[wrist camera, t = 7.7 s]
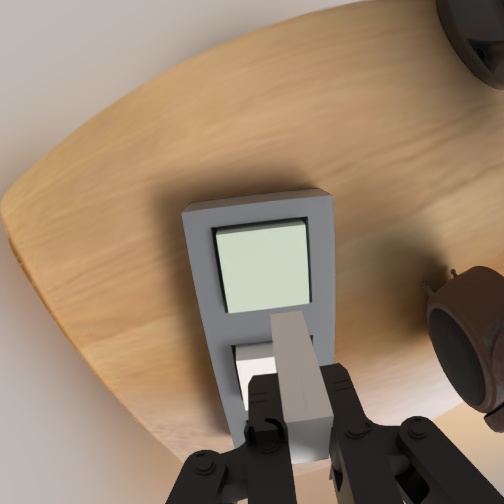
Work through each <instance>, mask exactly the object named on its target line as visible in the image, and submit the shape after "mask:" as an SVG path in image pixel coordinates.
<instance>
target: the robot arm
mask: <svg viewBox="0 0 504 504" xmlns="http://www.w3.org/2000/svg"><path fill="white" fill-rule="evenodd" d="M436 2H437V9H438V13H439V17H440V20H441V23H442V25H443V28H444V30H445V32H446V34H447V36H448V38H449V40H450V42H451V44H452V45H453V47H454V49H455V50H456V52H457V53H458V55H459V56H460V57H461V59H462V60H463V61H464V63H465V64H466V65H467V66H468V68H469V69H470V70H471V71H472V72H473V73H474V74H475V75H476V76H477V77H478V78H480V79H481V80H482V81H483V82H485V83H486V84H488V85H489V86H491V87H494V88H496V89H500V90H504V0H436ZM270 318H271V328H272V338H273V349H274V359H275V367H276V373H271V374H262V375H253V376H252V378H251V380H250V381H249V383H248V423H247V424H246V426H245V428H244V432H243V433H244V437H245V442H244V443H243V444H242V445H241V446H239V447H238V448H236V449H234V450H231V451H228V452H225V453H222V454H219V453H218V452H215V451H212V450H201V451H197V452H195V453H193V454H191V455H190V456H189V457H188V458H187V460H186V461H185V463H184V465H183V467H182V469H181V472H180V474H179V476H178V478H177V480H176V482H175V484H174V487H173V489H172V491H171V493H170V495H169V497H168V499H167V501H166V503H165V504H237V502H238V501H240V500H243V499H246V498H248V504H297V501H296V493H295V485H294V477H293V470H292V464H298V463H305V462H311V461H318V460H323V459H329V454H330V458H331V462H332V463H331V469H330V478H329V479H330V480H331V479H332V478H333V483H334V487H335V492H336V496H337V501H338V504H404V502H405V503H406V504H504V497H503V496H502V495H501V494H500V493H499V492H498V491H497V490H496V489H495V488H494V486H493V485H492V484H491V483H490V482H489V481H488V480H487V479H486V478H485V477H484V476H483V475H482V474H481V473H480V471H478V469H477V468H476V467H475V466H474V465H473V464H472V463H471V462H470V461H469V460H468V459H467V458H466V457H465V455H463V453H462V452H461V451H460V450H459V449H458V448H457V447H456V446H455V445H454V444H453V443H452V442H451V441H450V440H449V439H448V438H447V437H446V436H445V434H444V433H443V432H442V431H441V430H440V429H439V428H438V427H437V426H436V425H435V424H434V423H433V422H432V421H431V420H429V419H428V418H426V417H422V416H413V417H410V418H407V419H406V420H405V421H404V422H402V424H401V426H384V425H378V424H375V423H373V422H372V421H371V420H369V419H368V418H367V417H366V415H365V413H364V411H363V408H362V406H361V403H360V401H359V398H358V396H357V393H356V391H355V388H354V386H353V383H352V381H351V378H350V376H349V373H348V371H347V369H345V368H344V367H343V366H342V365H341V364H340V363H336V364H330V365H324V366H319V364H318V361H317V358H316V355H315V352H314V348H313V345H312V342H311V339H310V335H309V332H308V329H307V326H306V323H305V320H304V317H303V313H302V311H294V312H286V313H278V314H270ZM403 500H404V502H403Z"/></svg>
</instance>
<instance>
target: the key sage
mask: <svg viewBox="0 0 504 504" xmlns="http://www.w3.org/2000/svg"><path fill="white" fill-rule="evenodd" d="M216 238H217V244H218V251H219V257H220V264H221V270H222V276H223V282H224V288H225V294H226V300H227V306H228V312H229V313H237V312H246V311H255V310H263V309H271V308H279V307H287V306H294V305H301V304H308V303H309V281H308V260H307V242H306V227H305V224H304V222H303V221H302V220H301V219H300V218H299V217H296V218H287V219H278V220H269V221H260V222H252V223H244V224H235V225H227V226H219V227H218V230H217V234H216Z"/></svg>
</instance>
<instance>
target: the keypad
mask: <svg viewBox="0 0 504 504" xmlns="http://www.w3.org/2000/svg"><path fill="white" fill-rule="evenodd" d="M181 215H182V221H183V227H184V232H185V238H186V243H187V249H188V254H189V260H190V265H191V270H192V275H193V280H194V285H195V290H196V295H197V300H198V304H199V309H200V314H201V318H202V323H203V327H204V332H205V336H206V340H207V345H208V349H209V353H210V357H211V361H212V365H213V369H214V373H215V377H216V381H217V385H218V389H219V393H220V397H221V401H222V404H223V408H224V412H225V415H226V419H227V422H228V426H229V430H230V433H231V437H232V440H233V443H234V447H235V449H236V448H238V447H239V446H241V445H242V444H243V443H244V442H245V437H244V433H243V432H244V428H245V426H246V424H247V423H248V410H245V405H244V400H243V395H242V390H241V385H240V380H239V375H238V370H237V364H236V345H239V344H248V343H257V342H265V341H273V338H272V328H271V318H270V314H278V313H286V312H294V311H302V313H303V317H304V320H305V323H306V326H307V329H308V332H309V335H310V339H311V342H312V345H313V348H314V352H315V355H316V358H317V361H318V364H319V366H324V365H330V364H334V345H335V300H336V276H335V231H334V208H333V195H331V194H330V193H328V192H326V191H324V190H322V189H320V188H316V189H305V190H295V191H285V192H275V193H266V194H257V195H249V196H240V197H232V198H224V199H217V200H209V201H202V202H195V203H189V204H188V206H187V207H186V208H185V209H184V210H183V211H182V212H181ZM296 217H299V218H300V219H301V220H302V221H303V222H304V224H305V227H306V242H307V260H308V281H309V303H308V304H301V305H294V306H287V307H279V308H271V309H263V310H255V311H246V312H237V313H229V312H228V306H227V300H226V294H225V288H224V282H223V276H222V270H221V264H220V257H219V251H218V244H217V238H216V234H217V230H218V227H219V226H227V225H235V224H244V223H252V222H260V221H269V220H278V219H287V218H296Z"/></svg>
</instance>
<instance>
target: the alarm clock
mask: <svg viewBox="0 0 504 504" xmlns="http://www.w3.org/2000/svg"><path fill="white" fill-rule="evenodd" d="M451 274H453V276H454V278H453V279H451V280H450V281H448V282H447V283H446V284H445V285H443V286H442V287H441V288H440V289H439V290H437V291H436V292H435V293H434V292H433V291H432V290H431V288H430V287H429V286H428V285H427V282H426V281H423V282H422V287H424V288H425V290H426V292H427V295H428V297H429V298H428V301H427V305H426V317H427V326H428V331H429V335H430V338H431V341H432V344H433V347H434V350H435V352H436V355H437V358H438V360H439V362H440V364H441V367H442V369H443V371H444V373H445V374H446V376H447V378H448V380H449V381H450V383H451V384H452V386H453V387H454V389H455V390H456V392H457V393H458V394H459V396H460V397H461V398H462V399H463V400H464V401H465V402H466V403H467V404H468V405H469V406H471V407H472V408H474V409H475V410H477V411H479V412H481V413H487V414H486V415H485V416H484V420H485V422H486V423H487V425H488V426H489V427H490V428H491V429H492V430H493V431H495V432H499V433H503V432H504V277H503V276H502V275H501V274H499V273H498V272H496V271H494V270H493V269H490V268H488V267H484V266H475V267H472V268H471V269H469V270H467V271H465V272H464V273H462V274H460V275H457V274H456V271H455V269H452V270H451Z"/></svg>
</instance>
